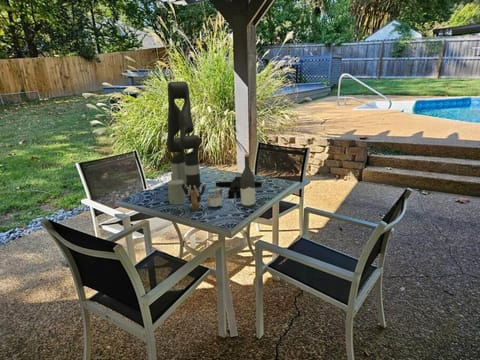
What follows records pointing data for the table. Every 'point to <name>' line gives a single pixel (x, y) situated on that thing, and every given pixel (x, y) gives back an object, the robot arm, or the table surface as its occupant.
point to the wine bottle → (247, 185)
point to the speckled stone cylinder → (176, 192)
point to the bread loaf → (194, 200)
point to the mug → (215, 198)
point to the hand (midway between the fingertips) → (195, 201)
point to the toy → (235, 187)
